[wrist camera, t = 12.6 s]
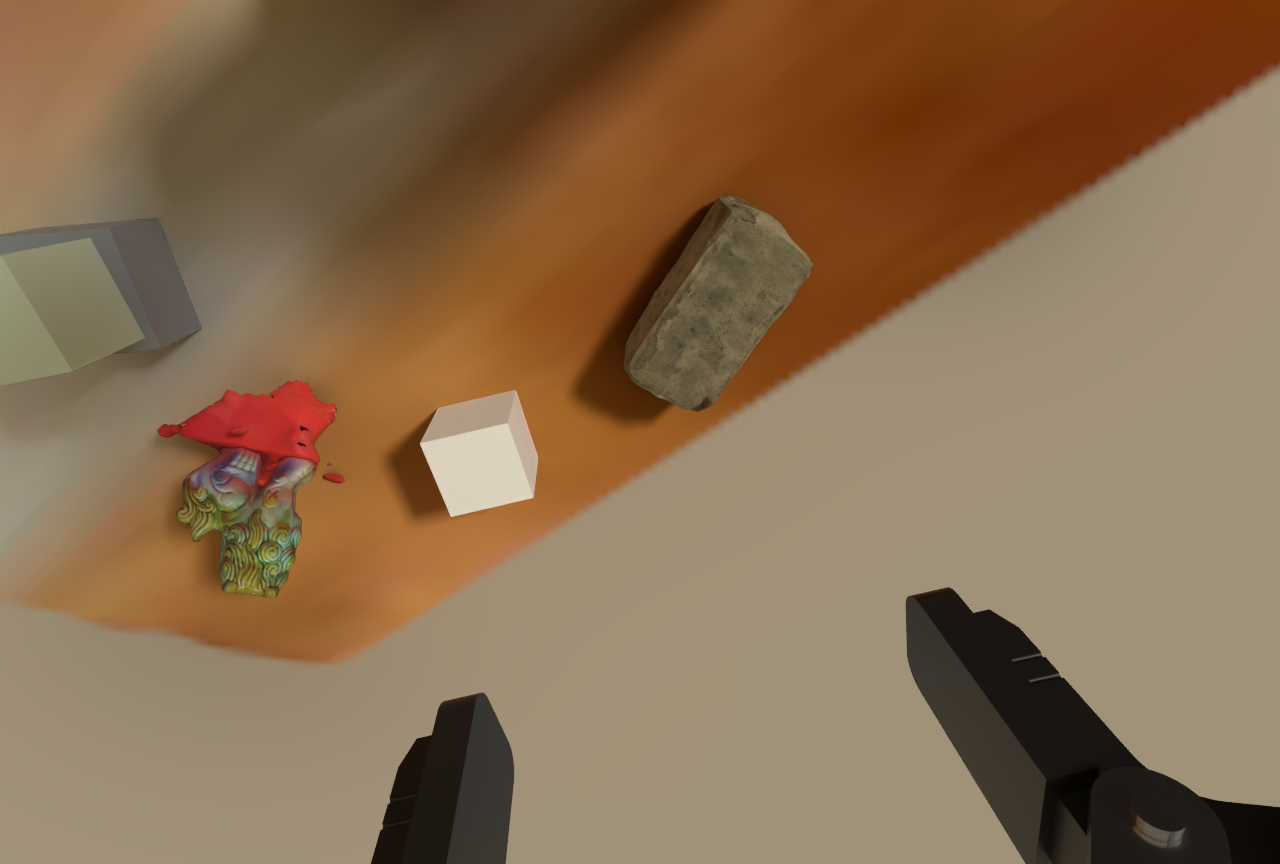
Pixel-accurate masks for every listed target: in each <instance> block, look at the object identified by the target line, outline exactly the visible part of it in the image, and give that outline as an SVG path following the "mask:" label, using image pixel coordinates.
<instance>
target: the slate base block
mask: <svg viewBox="0 0 1280 864" xmlns="http://www.w3.org/2000/svg"><path fill="white" fill-rule="evenodd" d="M86 238H91V240H92V242H93V244H94V246H95V247H96V249H97V251H98V253H99V255H100V256H101V258H102V260H103V262H104V264H105V266H106V267H107V269H108V271H109V273H110V275H111V276H112V278H113V280H114V282H115V284H116V285H117V287H118V289H119V291H120V293H121V295H122V296H123V298H124V300H125V302H126V304H127V305H128V307H129V309H130V311H131V313H132V314H133V316H134V318H135V320H136V322H137V324H138V325H139V327H140V329H141V331H142V333H143V334H144V336H145V338H144V339H142V340H140V341H138V342H136V343H134V344H131V345H129V346H127V347H125V348H123V349H121V350H119V351H116V352H114V353H112V354H116V353H127V352H137V351H148V350H158V349H163V348H165V347H167V346H169V345H171V344H172V343H174V342H176V341H178V340H180V339H182V338H184V337H186V336H188V335H190V334H192V333H194V332H196V331H198V330H200V329H202V328H201V325H200V323H199V320H198V318H197V315H196V313H195V310H194V308H193V305H192V303H191V300H190V298H189V295H188V293H187V290H186V288H185V285H184V283H183V280H182V278H181V275H180V272H179V270H178V267H177V265H176V262H175V260H174V257H173V255H172V252H171V250H170V247H169V245H168V242H167V240H166V237H165V235H164V232H163V230H162V227H161V225H160V222H159V219H158V218H152V219H140V220H128V221H116V222H104V223H92V224H81V225H69V226H57V227H45V228H36V229H30V230H25V231H19V232H13V233H7V234H1V235H0V255H2V254H7V253H13V252H18V251H23V250H28V249H33V248H39V247H44V246H49V245H54V244H60V243H65V242H70V241H75V240H80V239H86Z"/></svg>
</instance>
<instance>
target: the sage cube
mask: <svg viewBox="0 0 1280 864" xmlns="http://www.w3.org/2000/svg"><path fill="white" fill-rule="evenodd" d="M144 338H145V336H144V334H143V333H142V331H141V329H140V327H139V325H138V324H137V322H136V320H135V318H134V316H133V314H132V313H131V311H130V309H129V307H128V305H127V304H126V302H125V300H124V298H123V296H122V295H121V293H120V291H119V289H118V287H117V285H116V284H115V282H114V280H113V278H112V276H111V275H110V273H109V271H108V269H107V267H106V266H105V264H104V262H103V260H102V258H101V256H100V255H99V253H98V251H97V249H96V247H95V246H94V244H93V242H92V240H91V238H86V239H80V240H75V241H70V242H65V243H60V244H54V245H49V246H44V247H39V248H33V249H28V250H23V251H18V252H13V253H7V254H2V255H0V386H2V385H7V384H12V383H17V382H22V381H28V380H33V379H38V378H43V377H48V376H54V375H59V374H64V373H69V372H74V371H76V370H78V369H80V368H82V367H84V366H86V365H89V364H91V363H93V362H95V361H97V360H99V359H101V358H104V357H106V356H108V355H110V354H112V353H114V352H116V351H119V350H121V349H123V348H125V347H127V346H129V345H131V344H134V343H136V342H138V341H140V340H142V339H144Z"/></svg>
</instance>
